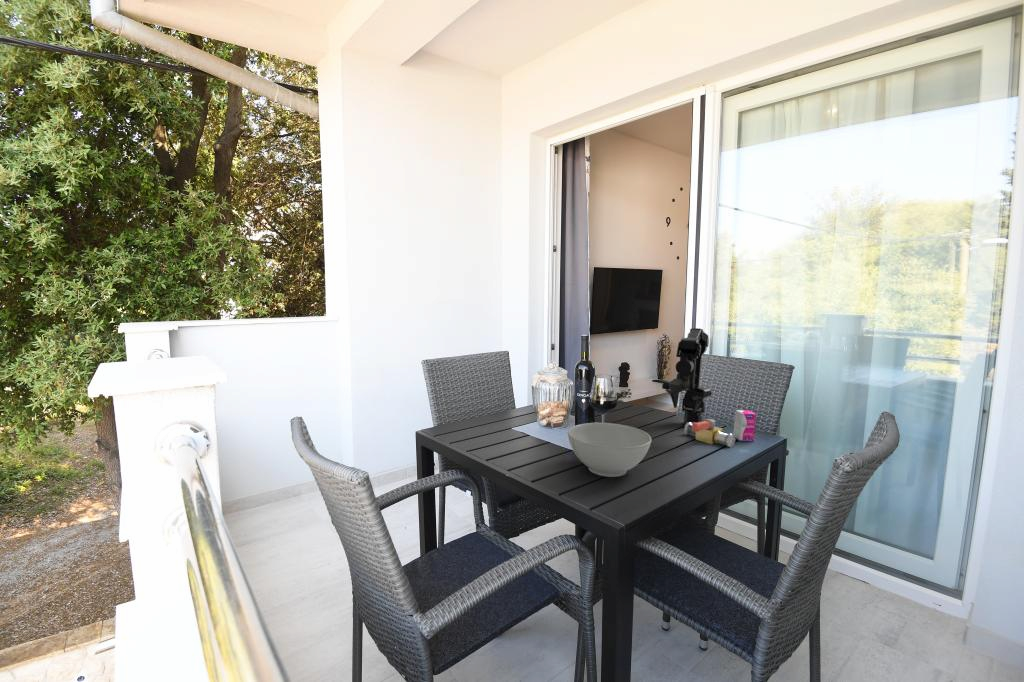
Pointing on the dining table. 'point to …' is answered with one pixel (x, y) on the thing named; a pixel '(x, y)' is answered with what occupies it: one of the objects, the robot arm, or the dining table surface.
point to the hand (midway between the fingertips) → (684, 410)
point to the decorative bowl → (609, 447)
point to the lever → (703, 425)
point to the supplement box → (744, 425)
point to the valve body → (711, 435)
